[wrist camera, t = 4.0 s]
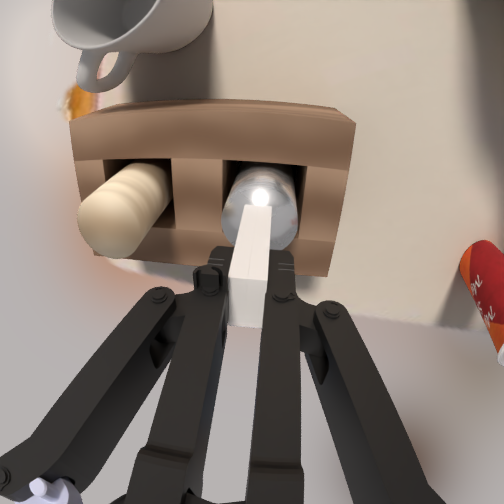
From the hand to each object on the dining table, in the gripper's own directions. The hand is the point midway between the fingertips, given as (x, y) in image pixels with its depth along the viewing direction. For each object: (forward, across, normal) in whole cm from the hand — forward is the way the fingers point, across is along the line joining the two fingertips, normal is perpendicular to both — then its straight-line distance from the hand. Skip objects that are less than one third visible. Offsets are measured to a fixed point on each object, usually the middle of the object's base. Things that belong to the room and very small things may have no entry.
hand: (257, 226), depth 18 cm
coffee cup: (+12, +28, -8) cm, 31 cm away
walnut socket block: (+12, -4, 0) cm, 12 cm away
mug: (+12, -10, +13) cm, 21 cm away
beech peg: (+7, -9, 0) cm, 11 cm away
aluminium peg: (+8, 0, 0) cm, 8 cm away
